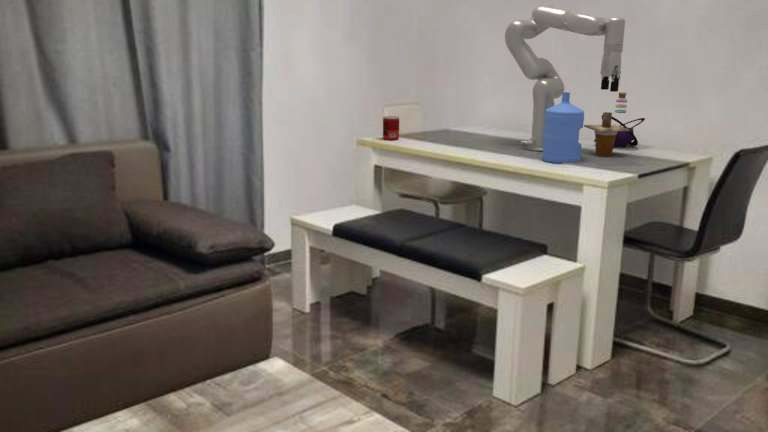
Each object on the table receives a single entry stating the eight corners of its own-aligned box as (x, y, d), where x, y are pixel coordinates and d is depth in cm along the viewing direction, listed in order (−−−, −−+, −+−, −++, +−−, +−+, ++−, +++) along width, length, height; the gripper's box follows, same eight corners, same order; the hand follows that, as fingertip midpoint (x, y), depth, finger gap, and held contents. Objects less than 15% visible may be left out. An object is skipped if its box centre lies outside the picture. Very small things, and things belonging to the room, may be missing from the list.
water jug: (557, 165, 290) (562, 94, 283) (534, 158, 304) (538, 91, 297) (588, 162, 296) (594, 93, 289) (564, 156, 310) (569, 90, 303)
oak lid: (596, 131, 301) (598, 114, 299) (584, 126, 314) (585, 111, 313) (628, 131, 302) (630, 114, 301) (615, 126, 316) (616, 110, 314)
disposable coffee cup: (611, 159, 305) (614, 131, 302) (589, 157, 310) (591, 129, 307) (617, 156, 313) (620, 128, 310) (595, 154, 318) (598, 126, 315)
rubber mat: (600, 168, 285) (600, 165, 285) (585, 161, 300) (585, 158, 300) (644, 167, 287) (644, 165, 287) (626, 160, 302) (627, 158, 302)
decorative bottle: (652, 149, 332) (657, 94, 326) (612, 151, 326) (617, 95, 319) (622, 142, 353) (627, 90, 346) (584, 143, 346) (589, 90, 340)
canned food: (401, 139, 354) (402, 116, 351) (393, 141, 347) (393, 118, 344) (388, 137, 358) (388, 115, 355) (379, 139, 351) (380, 117, 348)
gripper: (596, 47, 308) (592, 88, 312) (612, 49, 291) (608, 92, 296) (613, 48, 309) (609, 88, 313) (630, 49, 292) (626, 92, 296)
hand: (609, 90), depth 304 cm, fingers open, 9 cm apart
